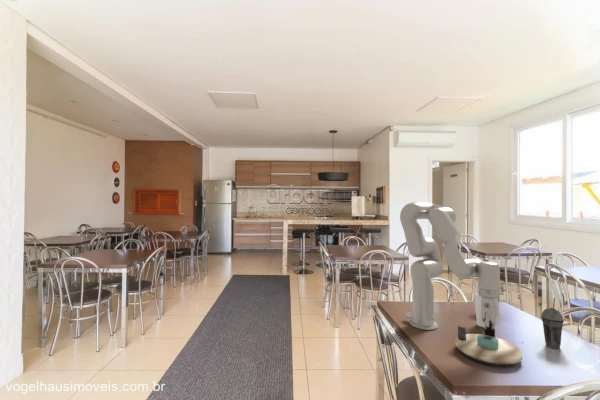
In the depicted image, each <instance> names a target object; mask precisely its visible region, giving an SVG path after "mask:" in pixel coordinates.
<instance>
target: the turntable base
mask: <svg viewBox="0 0 600 400" xmlns="http://www.w3.org/2000/svg"><path fill="white" fill-rule="evenodd" d="M463 355H465V356H466V357H467V358H469V359H472V360H473V361H475V362H478V363H481V364H485V365H488V366H495V367H511V366H512V365H514V364H497V363H491V362H486V361H482V360H479V359H476V358H473V357H471V356H469V355H467V354H465V353H463Z"/></svg>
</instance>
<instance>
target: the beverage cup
mask: <svg viewBox="0 0 600 400" xmlns="http://www.w3.org/2000/svg"><path fill="white" fill-rule="evenodd" d="M555 304H556V298H555V297H553V303H552V307H549V308H548V307H547V308H545V309H544V310H543V311H542V312H541V316H540V317H541V322H542V325H543V326H542V327H543V336H544V343H545V346H546V347H547V348H550V349H553V350H561V343H562V333H563V332H562V331H563V327H564V321H565V320H564V317H563V315H562V313H561V312H560V311H559V310H557V309H556V308H555V306H556V305H555Z"/></svg>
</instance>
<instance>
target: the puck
mask: <svg viewBox="0 0 600 400" xmlns="http://www.w3.org/2000/svg"><path fill="white" fill-rule="evenodd" d="M495 337H496V336H495ZM495 337H493V336H489V335H485V334H481V335H478V336H477V345H478V346H479V347H481V348H483V349H487V350H498V339H497V338H498V337H496V338H495Z"/></svg>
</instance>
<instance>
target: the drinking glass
mask: <svg viewBox="0 0 600 400" xmlns="http://www.w3.org/2000/svg"><path fill="white" fill-rule="evenodd" d="M474 308H475V318H476V325H477V326H478V327H480V328H484V329H485V321H484V322H482V317H481V297H480V296H479V295H478V292H476V293H474Z"/></svg>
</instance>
